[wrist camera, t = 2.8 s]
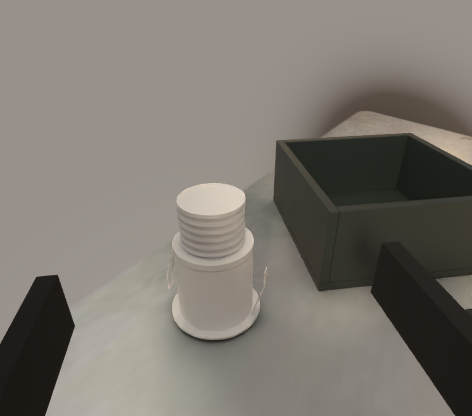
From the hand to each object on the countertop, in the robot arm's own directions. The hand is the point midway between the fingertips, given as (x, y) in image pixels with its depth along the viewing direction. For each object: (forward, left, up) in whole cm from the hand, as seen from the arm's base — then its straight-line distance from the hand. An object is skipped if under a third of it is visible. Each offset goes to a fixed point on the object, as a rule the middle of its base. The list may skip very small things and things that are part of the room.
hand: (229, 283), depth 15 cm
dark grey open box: (+8, +24, -11) cm, 28 cm away
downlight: (-4, +9, -11) cm, 15 cm away
